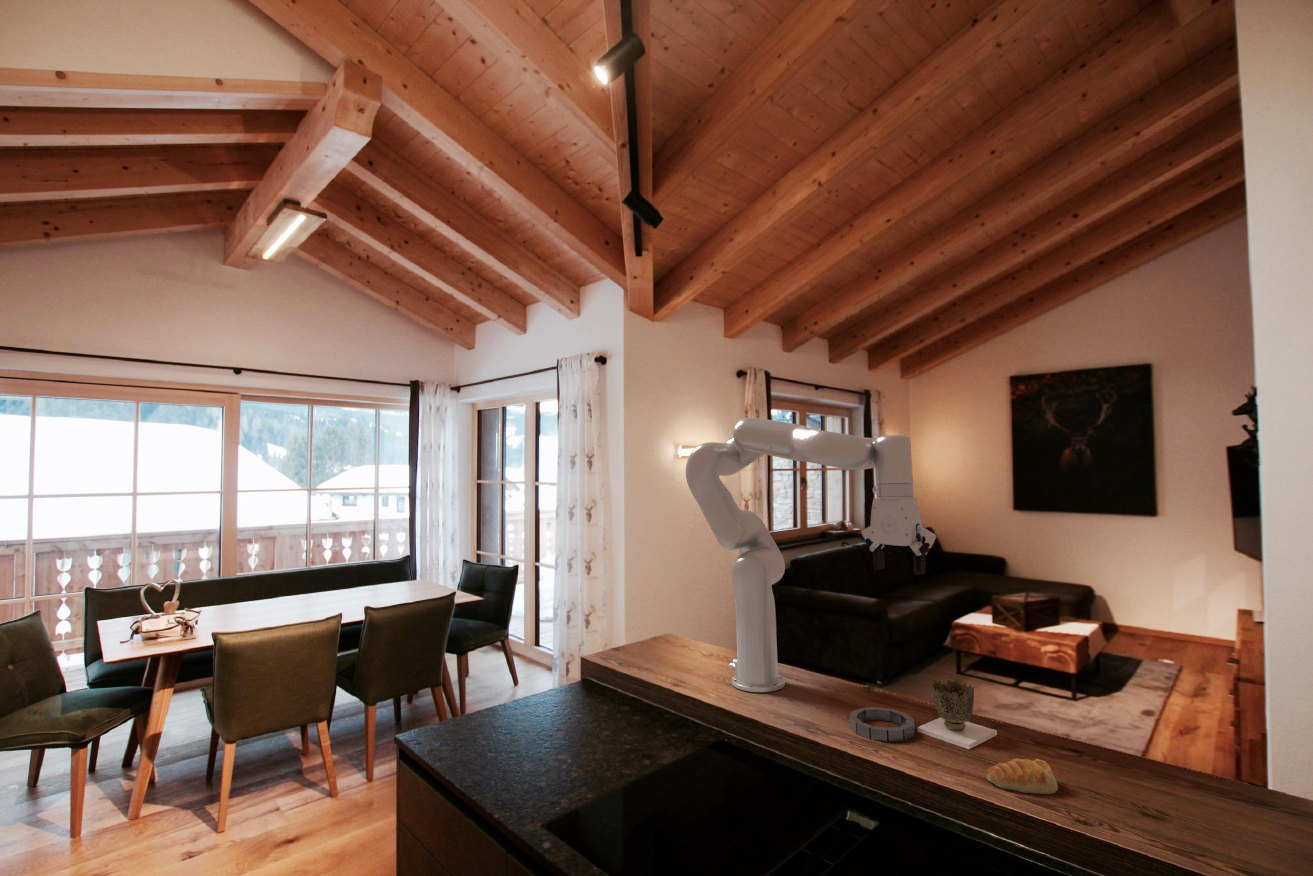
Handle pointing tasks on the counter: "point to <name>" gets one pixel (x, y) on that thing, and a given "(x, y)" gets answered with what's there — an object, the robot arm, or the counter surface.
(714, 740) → the counter surface
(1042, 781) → the pastry
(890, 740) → the stone ring
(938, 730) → the stone coaster
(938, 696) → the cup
